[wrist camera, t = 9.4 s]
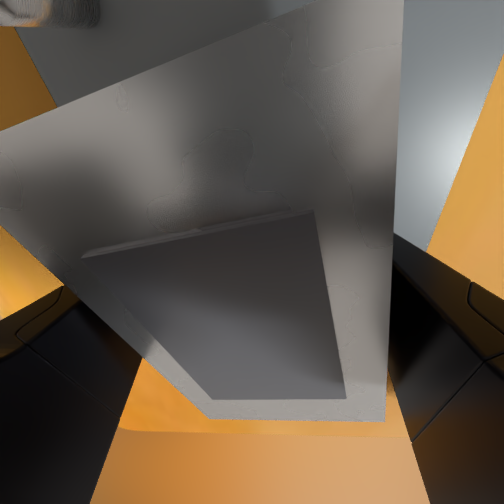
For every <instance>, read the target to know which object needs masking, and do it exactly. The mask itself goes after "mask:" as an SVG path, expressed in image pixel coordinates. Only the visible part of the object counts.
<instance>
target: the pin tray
mask: <svg viewBox="0 0 504 504" xmlns="http://www.w3.org/2000/svg"><path fill="white" fill-rule="evenodd" d="M314 1H316V0H0V26H14V28H15V30H16V31H17V33H18V35H19V37H20V39H21V41H22V42H23V44H24V46H25V48H26V50H27V52H28V54H29V55H30V57H31V59H32V61H33V63H34V65H35V66H36V68H37V70H38V72H39V74H40V76H41V78H42V79H43V81H44V83H45V85H46V87H47V89H48V90H49V92H50V94H51V96H52V98H53V100H54V102H55V103H56V105H57V107H60V106H63V105H65V104H67V103H70V102H72V101H75V100H77V99H80V98H82V97H84V96H87V95H89V94H92V93H94V92H96V91H99V90H101V89H104V88H106V87H108V86H111V85H113V84H116V83H118V82H121V81H123V80H125V79H128V78H130V77H133V76H135V75H137V74H140V73H142V72H145V71H147V70H149V69H152V68H154V67H157V66H159V65H162V64H164V63H166V62H169V61H171V60H174V59H176V58H178V57H181V56H183V55H186V54H188V53H190V52H193V51H195V50H198V49H200V48H203V47H205V46H207V45H210V44H212V43H215V42H217V41H219V40H222V39H224V38H227V37H229V36H232V35H234V34H236V33H239V32H241V31H244V30H246V29H248V28H251V27H253V26H256V25H258V24H260V23H263V22H265V21H268V20H270V19H273V18H275V17H277V16H280V15H282V14H285V13H287V12H289V11H292V10H294V9H297V8H299V7H301V6H304V5H306V4H309V3H311V2H314ZM503 53H504V0H404V11H403V33H402V55H401V77H400V99H399V122H398V144H397V166H396V188H395V210H394V233H396V234H397V235H399V236H401V237H402V238H404V239H406V240H407V241H409V242H410V243H412V244H414V245H415V246H417V247H418V248H420V249H422V250H423V251H425V252H426V250H427V248H428V245H429V242H430V240H431V237H432V235H433V232H434V230H435V227H436V225H437V222H438V219H439V217H440V214H441V212H442V209H443V207H444V204H445V202H446V199H447V196H448V194H449V191H450V189H451V186H452V184H453V181H454V179H455V176H456V173H457V171H458V168H459V166H460V163H461V161H462V158H463V156H464V153H465V150H466V148H467V145H468V143H469V140H470V138H471V135H472V133H473V130H474V127H475V125H476V122H477V120H478V117H479V115H480V112H481V110H482V107H483V105H484V102H485V99H486V97H487V94H488V92H489V89H490V87H491V84H492V82H493V79H494V76H495V74H496V71H497V69H498V66H499V64H500V61H501V59H502V56H503Z"/></svg>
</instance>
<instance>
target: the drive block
mask: <svg viewBox="0 0 504 504" xmlns="http://www.w3.org/2000/svg"><path fill="white" fill-rule="evenodd" d="M403 11H404V0H316V1H314V2H311V3H309V4H306V5H304V6H301V7H299V8H297V9H294V10H292V11H289V12H287V13H285V14H282V15H280V16H277V17H275V18H273V19H270V20H268V21H265V22H263V23H260V24H258V25H256V26H253V27H251V28H248V29H246V30H244V31H241V32H239V33H236V34H234V35H232V36H229V37H227V38H224V39H222V40H219V41H217V42H215V43H212V44H210V45H207V46H205V47H203V48H200V49H198V50H195V51H193V52H190V53H188V54H186V55H183V56H181V57H178V58H176V59H174V60H171V61H169V62H166V63H164V64H162V65H159V66H157V67H154V68H152V69H149V70H147V71H145V72H142V73H140V74H137V75H135V76H133V77H130V78H128V79H125V80H123V81H121V82H118V83H116V84H113V85H111V86H108V87H106V88H104V89H101V90H99V91H96V92H94V93H92V94H89V95H87V96H84V97H82V98H80V99H77V100H75V101H72V102H70V103H67V104H65V105H63V106H60V107H58V108H55V109H53V110H51V111H48V112H46V113H43V114H41V115H39V116H36V117H34V118H31V119H29V120H26V121H24V122H22V123H19V124H17V125H14V126H12V127H10V128H7V129H5V130H2V131H0V225H1V226H2V227H3V228H4V229H5V230H6V231H7V232H9V233H10V234H11V235H12V236H13V237H14V238H15V239H16V240H17V241H18V242H19V243H20V244H21V245H23V246H24V247H25V248H26V249H27V250H28V251H29V252H30V253H31V254H32V255H33V256H34V257H35V258H37V259H38V260H39V261H40V262H41V263H42V264H43V265H44V266H45V267H46V268H47V269H48V270H49V271H51V272H52V273H53V274H54V275H55V276H56V277H57V278H58V279H59V280H60V281H61V282H62V283H63V284H65V285H66V286H67V287H68V288H69V289H70V290H71V291H72V292H73V293H74V294H75V295H76V296H77V297H79V298H80V299H81V300H82V301H83V302H84V303H85V304H86V305H87V306H88V307H89V308H90V309H91V310H93V311H94V312H95V313H96V314H97V315H98V316H99V317H100V318H101V319H102V320H103V321H104V322H105V323H107V324H108V325H109V326H110V327H111V328H112V329H113V330H114V331H115V332H116V333H117V334H118V335H119V336H121V337H122V338H123V339H124V340H125V341H126V342H127V343H128V344H129V345H130V346H131V347H132V348H133V349H135V350H136V351H137V352H138V353H139V354H140V355H141V356H142V357H143V358H144V359H145V360H146V361H147V362H149V363H150V364H151V365H152V366H153V367H154V368H155V369H156V370H157V371H158V372H159V373H160V374H161V375H163V376H164V377H165V378H166V379H167V380H168V381H169V382H170V383H171V384H172V385H173V386H174V387H175V388H177V389H178V390H179V391H180V392H181V393H182V394H183V395H184V396H185V397H186V398H187V399H188V400H189V401H191V402H192V403H193V404H194V405H195V406H196V407H197V408H198V409H199V410H200V411H201V412H202V413H203V414H204V415H206V416H207V417H208V418H209V419H239V420H296V421H354V422H385V409H386V387H387V365H388V343H389V321H390V298H391V276H392V254H393V232H394V210H395V188H396V166H397V144H398V122H399V99H400V77H401V55H402V33H403Z"/></svg>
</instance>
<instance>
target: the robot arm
mask: <svg viewBox="0 0 504 504" xmlns="http://www.w3.org/2000/svg"><path fill="white" fill-rule="evenodd" d="M142 358H143V357H142V356H141V355H140V354H139V353H138V352H137V351H136V350H135V349H133V348H132V347H131V346H130V345H129V344H128V343H127V342H126V341H125V340H124V339H123V338H122V337H121V336H119V335H118V334H117V333H116V332H115V331H114V330H113V329H112V328H111V327H110V326H109V325H108V324H107V323H105V322H104V321H103V320H102V319H101V318H100V317H99V316H98V315H97V314H96V313H95V312H94V311H93V310H91V309H90V308H89V307H88V306H87V305H86V304H85V303H84V302H83V301H82V300H81V299H80V298H79V297H77V296H76V295H75V294H74V293H73V292H72V291H71V290H70V289H69V288H68V287H67V286H66V285H65V284H64V286H61V287H59V288H57V289H56V290H54V291H52V292H51V293H49V294H47V295H45V296H44V297H42V298H40V299H38V300H37V301H35V302H33V303H31V304H30V305H28V306H26V307H24V308H22V309H21V310H19V311H17V312H15V313H13V314H11V315H10V316H8V317H6V318H4V319H2V320H0V504H90V501H91V498H92V495H93V493H94V490H95V487H96V484H97V482H98V479H99V476H100V473H101V471H102V468H103V465H104V462H105V460H106V457H107V454H108V451H109V448H110V446H111V443H112V440H113V438H114V435H115V432H116V429H117V427H118V424H119V421H120V417H121V415H122V412H123V410H124V407H125V404H126V401H127V399H128V396H129V393H130V391H131V388H132V385H133V382H134V380H135V377H136V374H137V371H138V369H139V366H140V363H141V360H142ZM387 368H388V371H389V374H390V377H391V380H392V384H393V387H394V390H395V393H396V396H397V399H398V403H399V406H400V409H401V412H402V415H403V418H404V422H405V425H406V428H407V431H408V434H409V437H410V440H411V442H412V447H413V450H414V453H415V457H416V460H417V463H418V466H419V470H420V472H421V476H422V479H423V482H424V485H425V488H426V492H427V495H428V498H429V501H430V504H504V300H503V299H501V298H500V297H498V296H496V295H495V294H493V293H491V292H490V291H488V290H486V289H485V288H483V287H481V286H480V285H478V284H477V283H475V282H471V280H470V279H468V278H467V277H465V276H464V275H462V274H460V273H459V272H457V271H455V270H454V269H452V268H451V267H449V266H447V265H446V264H444V263H443V262H441V261H439V260H438V259H436V258H435V257H433V256H431V255H430V254H428V253H426V252H425V251H423V250H422V249H420V248H418V247H417V246H415V245H414V244H412V243H410V242H409V241H407V240H406V239H404V238H402V237H401V236H399V235H397V234H396V233H394V232H393V254H392V276H391V298H390V321H389V343H388V365H387Z"/></svg>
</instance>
